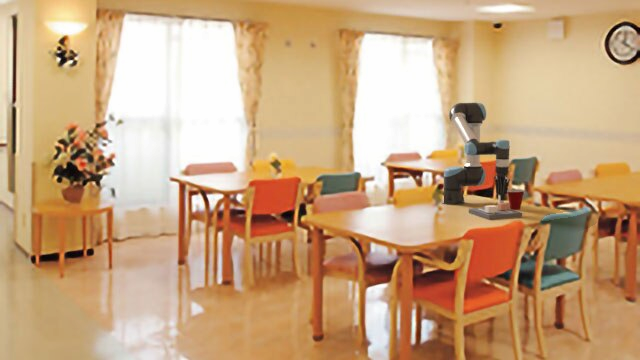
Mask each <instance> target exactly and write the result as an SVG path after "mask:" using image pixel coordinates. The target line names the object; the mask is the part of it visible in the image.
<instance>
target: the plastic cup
mask: <svg viewBox="0 0 640 360" xmlns="http://www.w3.org/2000/svg"><path fill="white" fill-rule="evenodd" d="M524 192H525V189H507V197H508V198H507V199H508V203H510V209H511V210H515V211H519V210H521V207H522V202H523V197H524Z"/></svg>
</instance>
